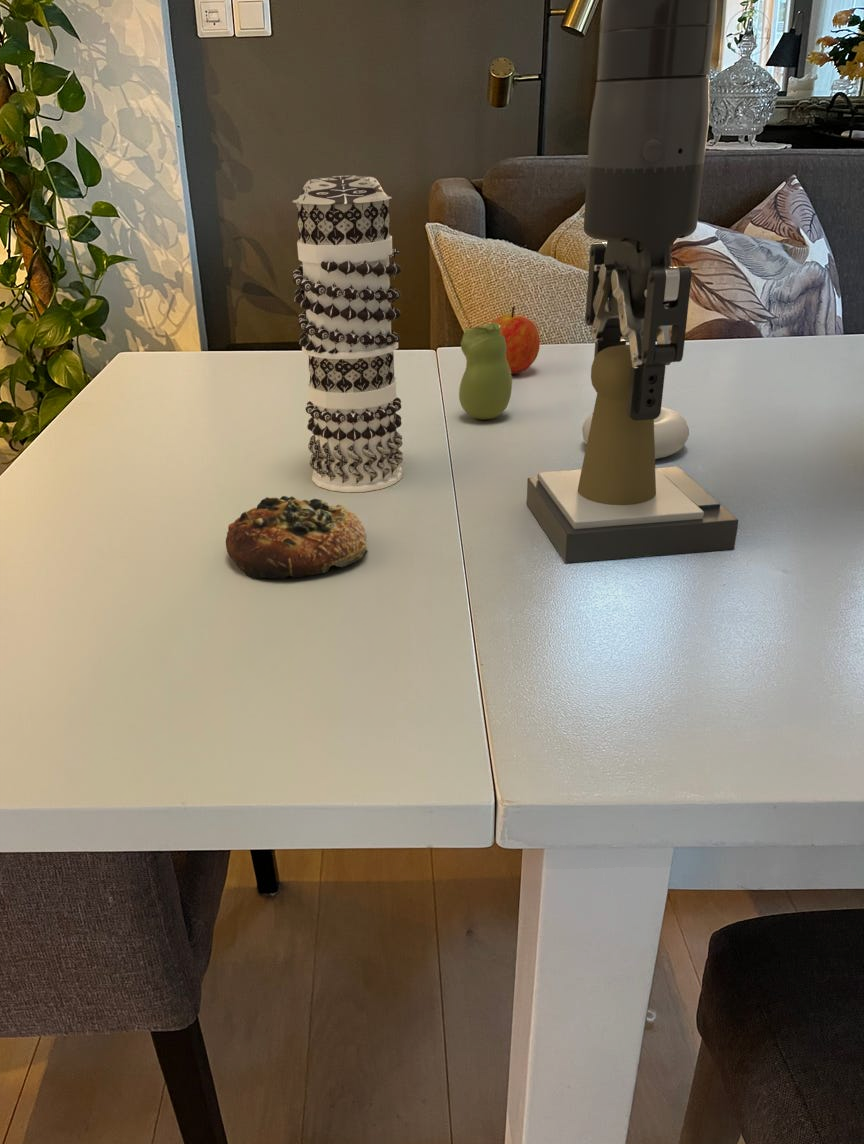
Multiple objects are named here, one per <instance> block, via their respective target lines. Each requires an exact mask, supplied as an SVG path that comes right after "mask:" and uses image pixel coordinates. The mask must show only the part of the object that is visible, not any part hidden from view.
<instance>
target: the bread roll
mask: <svg viewBox="0 0 864 1144" xmlns="http://www.w3.org/2000/svg"><path fill="white" fill-rule="evenodd" d="M227 529H228V530H227V532H226V538H225V549H226V552H227V554H228V556H229V557H230V558H231V559H232V560H233V561H234V563H235V565H236V566H237V567H238V568H239V569H240V571H242V572H243V573H244V574H245V575H246V576H247V577H250V578H258V579H263V578H266V579H270V578H271V579H281V580H282V579H286V578H288V576H289V577H290V576H291V577H292V578H305V577H308V576H314V575H320V574H325V573H327V572H328V571H329V570H330V567H331V566H335V567H337V568H345V567H347V566H349V565H351V564H354V563H355V562H357V561H360V559H361V558H364V556H363V555H364V554H365V553H366V552H367V550H368V548H369V547H368V546H367V542H368V541H367V533H366V529H365V527H364V525H363V523H362V521H361V520H360V519H359V517H358V516H357V514H356V513H355V512H351V511H350V510H349V509H348V510H347V509H346V508H345V506H344V505H341V504H337V505H336V506H335V505H329V504H328V502H327V501H325V500H322V499H319V498H313V499H310V500H307V499H303V500H300V499H297V498H295V496H293V495H292V496H287V495H281V497H280V498H278V497H268V496H266V497H265V498H262V499H261V500H260V502H259V503H258V504H257V505H256V507H252V508H251V509H249V510H247V511H243V512H242V513H241V514H240V516H239V517H238V518H237V519H235V521H233V522H231V523H230V524H228V527H227Z"/></svg>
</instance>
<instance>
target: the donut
mask: <svg viewBox="0 0 864 1144" xmlns="http://www.w3.org/2000/svg"><path fill="white" fill-rule="evenodd" d="M592 416H593V412H591V413H590V414H589V415H588V417H586V418H585V420H584V422H583V424H582V428H581V430H582V438H583V441H584V444H586V445H587V441H588V436H589V431H590V426H591V421H592ZM689 436H690V429H689V425H688V424H687V420H686V419H685V418H684V417H683V416H682V415H681V414H680V413H678V412H676V411H675V410H672V409H669V408H667V407H665V406H664V407H663V406H661V413H660V415H659V417H658V418H656V419H654V443H655V460H659V459H664V458H667V457H670V456H672V455H674V454H677V453H678V452H679V451H680V450H682V449H683V448H684V446H685V444H686V443H687V442H688V439H689Z"/></svg>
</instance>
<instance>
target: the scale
mask: <svg viewBox="0 0 864 1144" xmlns="http://www.w3.org/2000/svg"><path fill="white" fill-rule="evenodd" d="M581 470H582V468H580V469H569V470H567V469H566V470H555V471H543V472H542V471H541V472H537V476H534V477H527V484H526V485H527V486H526V487H527V488H526V506H527V507H528V509H529V510H530V511H531V513H532V514H533V516H534V518H535V519H536V520H537V522H538V524H539V525H540V527H541V529H542V530H543V532H545V534H546V536H547V537H548V539H549V541H550V542H551V543H552V545H553V546H554V548H555V549H556V551H557V552H558V554H559V556H560V557H561V558H562V560H563V562H564V563H565V564H571V563H583V562H584V563H586V562H596V561H608V560H619V559H632V558H643V557H656V556H657V557H658V556H668V555H669V556H670V555H679V554H681V555H682V554H693V553H704V552H717V551H718V552H719V551H728V550H734V549H735V548H736V547H735V546H736V541H737V534H738V527H739V522H740V521H739V519H738V518H737V516H735V515H734V514H733V513H732V512H730V511H729V509H727V508H726V507H725V506H724V505H722V504H721V502H719V501H718V500H717V499H715V497H713V496H712V495H711V494H710V493H709V492H707V490H705V489H704V488H703V487H702V486H701V485H699V484H698V483H697V482H696V481H695V480H694V479H693V478H691V476H689V475H688V473H686V472H685V471H684V470H683V469H682V468H680V467H679V466H665V467H656V466H655V476H656V495H655V496H654V497H653V499H651V500H648V501H646V502H643V503H638V504H632V505H609V504H603V503H597V502H594V501H591V500H588V499H586V498H584V497H582V496H581V495H580V494H579V493H578V485H579V480H580V475H581Z"/></svg>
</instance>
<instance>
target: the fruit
mask: <svg viewBox="0 0 864 1144" xmlns="http://www.w3.org/2000/svg"><path fill="white" fill-rule="evenodd" d="M515 309H516V307H515V306H511V314H502V315H500V316H498V317H496V318H495V319H493V320H492V321H491V322H490V323H498V324H499V325H500V332H501V336H504V338H505V341H506V359H507V362H508V365H509V367H510V370H511V374H514V375H517V374H520V373H522V372H524V371H526V370H527V369H529V368H530V367H531V366H532V365H533V364H534V363H535V361H536V360H537V357H538V355H539V351H540V347H541V338H540V334H539V331H538V328H537V326H536V324H535V323H534V321H533V320H531V319H530V318H528V317H526V316H523V315H519V314H515ZM519 372H520V373H519ZM516 373H517V374H516Z"/></svg>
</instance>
